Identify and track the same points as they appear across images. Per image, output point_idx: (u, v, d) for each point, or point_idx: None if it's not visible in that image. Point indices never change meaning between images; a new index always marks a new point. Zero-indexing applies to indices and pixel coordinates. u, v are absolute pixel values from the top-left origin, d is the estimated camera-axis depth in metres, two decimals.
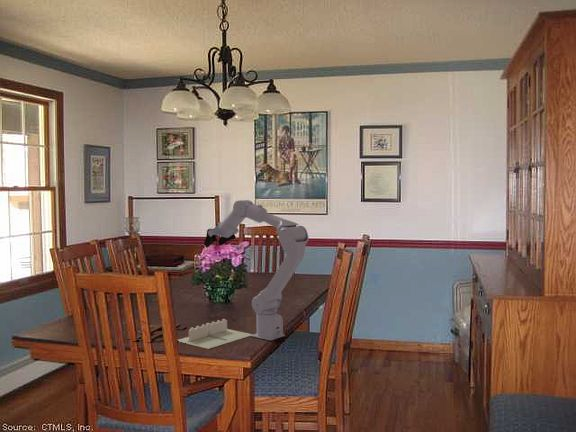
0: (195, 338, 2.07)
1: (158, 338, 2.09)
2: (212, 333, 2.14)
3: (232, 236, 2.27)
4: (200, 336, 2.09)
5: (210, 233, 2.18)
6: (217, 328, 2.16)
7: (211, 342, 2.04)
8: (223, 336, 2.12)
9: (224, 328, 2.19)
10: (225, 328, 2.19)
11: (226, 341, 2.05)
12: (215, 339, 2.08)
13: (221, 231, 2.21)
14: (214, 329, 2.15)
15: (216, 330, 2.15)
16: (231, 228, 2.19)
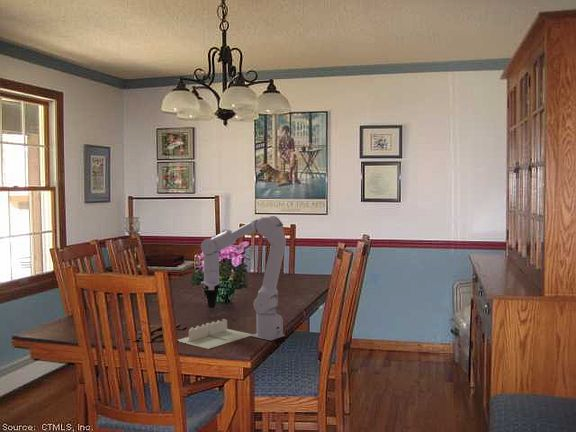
0: (195, 338, 2.07)
1: (158, 338, 2.09)
2: (212, 333, 2.14)
3: (217, 284, 2.24)
4: (200, 336, 2.09)
5: (212, 287, 2.12)
6: (217, 328, 2.16)
7: (211, 342, 2.04)
8: (223, 336, 2.12)
9: (224, 328, 2.19)
10: (225, 328, 2.19)
11: (226, 341, 2.05)
12: (215, 339, 2.08)
13: (213, 281, 2.17)
14: (214, 329, 2.15)
15: (216, 330, 2.15)
16: (218, 270, 2.18)
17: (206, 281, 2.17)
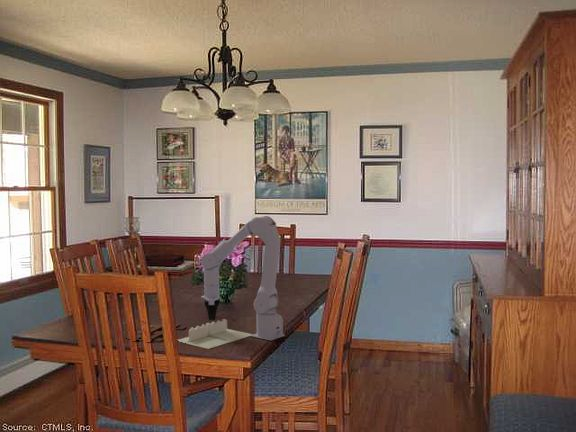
0: (195, 338, 2.07)
1: (158, 338, 2.09)
2: (212, 333, 2.14)
3: None
4: (200, 336, 2.09)
5: (212, 302, 2.13)
6: (217, 328, 2.16)
7: (211, 342, 2.04)
8: (223, 336, 2.12)
9: (224, 328, 2.19)
10: (225, 328, 2.19)
11: (226, 341, 2.05)
12: (215, 339, 2.08)
13: (213, 296, 2.17)
14: (214, 329, 2.15)
15: (216, 330, 2.15)
16: (218, 285, 2.18)
17: (206, 296, 2.17)
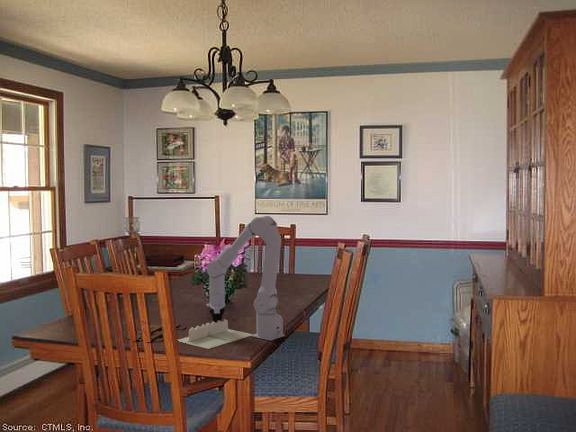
0: (195, 338, 2.07)
1: (158, 338, 2.09)
2: (212, 333, 2.14)
3: None
4: (200, 336, 2.09)
5: (217, 310, 2.11)
6: (217, 328, 2.16)
7: (211, 342, 2.04)
8: (223, 336, 2.12)
9: (225, 328, 2.18)
10: (226, 328, 2.19)
11: (226, 341, 2.05)
12: (215, 339, 2.08)
13: (219, 304, 2.16)
14: (214, 330, 2.15)
15: (216, 330, 2.15)
16: (223, 293, 2.17)
17: (211, 304, 2.16)
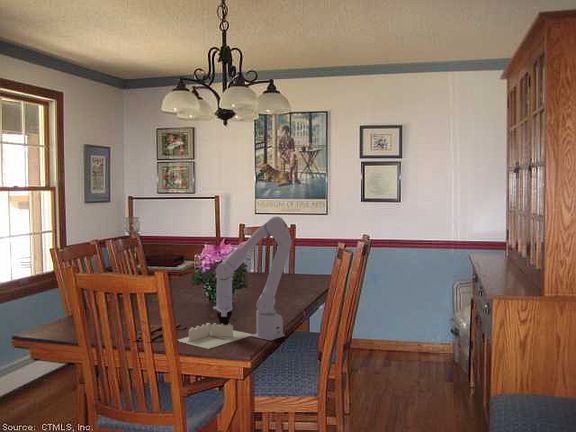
0: (195, 338, 2.07)
1: (158, 338, 2.09)
2: (212, 334, 2.12)
3: None
4: (200, 336, 2.09)
5: (224, 313, 2.06)
6: (219, 331, 2.12)
7: (211, 342, 2.04)
8: (223, 336, 2.12)
9: (228, 333, 2.11)
10: (230, 333, 2.11)
11: (226, 341, 2.05)
12: (215, 339, 2.08)
13: (226, 307, 2.10)
14: (215, 331, 2.12)
15: (217, 332, 2.12)
16: (231, 296, 2.11)
17: (218, 307, 2.11)
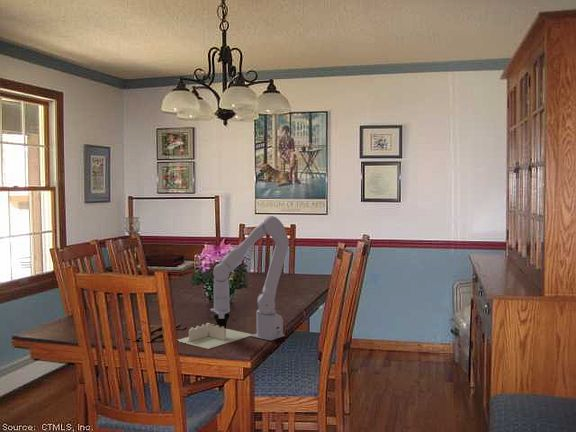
0: (195, 338, 2.07)
1: (158, 338, 2.09)
2: (210, 335, 2.12)
3: None
4: (200, 336, 2.09)
5: (222, 315, 2.03)
6: (214, 332, 2.10)
7: (211, 342, 2.04)
8: None
9: (221, 336, 2.07)
10: (222, 337, 2.07)
11: (226, 341, 2.05)
12: (215, 339, 2.08)
13: (223, 309, 2.08)
14: (212, 332, 2.11)
15: (213, 333, 2.10)
16: (228, 297, 2.09)
17: (216, 308, 2.08)
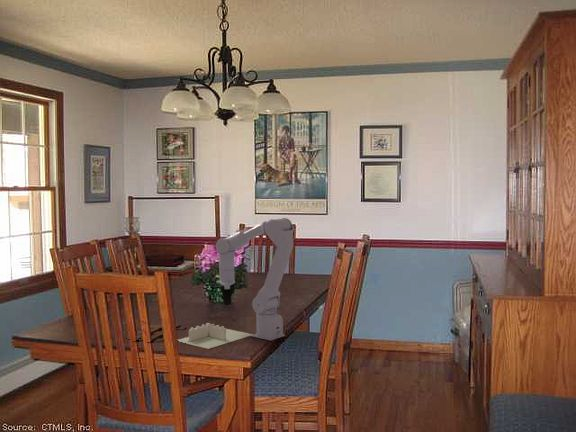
0: (195, 338, 2.07)
1: (158, 338, 2.09)
2: (210, 335, 2.12)
3: None
4: (200, 336, 2.09)
5: (227, 286, 2.14)
6: (214, 332, 2.10)
7: (211, 342, 2.04)
8: None
9: (221, 336, 2.07)
10: (222, 337, 2.07)
11: (226, 341, 2.05)
12: (215, 339, 2.08)
13: (229, 280, 2.18)
14: (212, 332, 2.11)
15: (213, 333, 2.10)
16: (233, 269, 2.20)
17: (222, 280, 2.19)
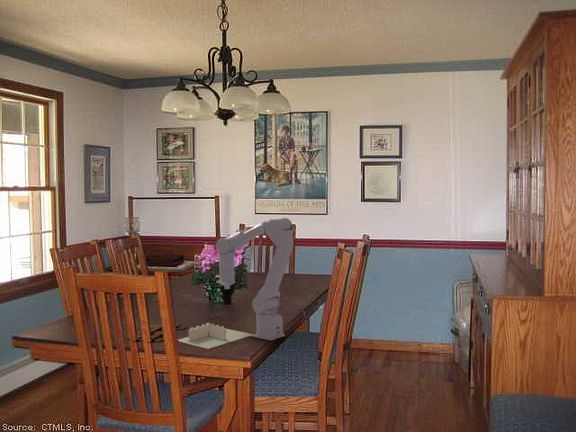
0: (195, 338, 2.07)
1: (158, 338, 2.09)
2: (210, 335, 2.12)
3: None
4: (200, 336, 2.09)
5: (227, 286, 2.14)
6: (214, 332, 2.10)
7: (211, 342, 2.04)
8: None
9: (221, 336, 2.07)
10: (222, 337, 2.07)
11: (226, 341, 2.05)
12: (215, 339, 2.08)
13: (229, 280, 2.18)
14: (212, 332, 2.11)
15: (213, 333, 2.10)
16: (233, 269, 2.20)
17: (222, 280, 2.19)
